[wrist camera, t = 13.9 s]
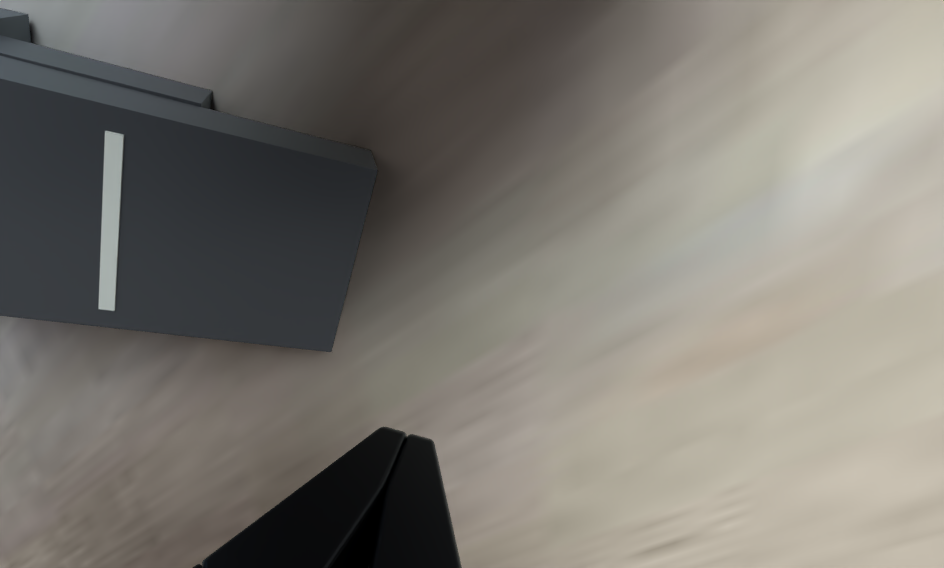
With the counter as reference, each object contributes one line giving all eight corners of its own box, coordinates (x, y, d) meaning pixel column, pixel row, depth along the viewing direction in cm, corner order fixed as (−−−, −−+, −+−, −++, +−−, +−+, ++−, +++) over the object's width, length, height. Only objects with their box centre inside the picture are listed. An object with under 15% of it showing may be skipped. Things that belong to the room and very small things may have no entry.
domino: (378, 171, 12) (-269, 14, 8) (331, 353, 14) (-203, 295, 10) (370, 149, 13) (-181, 8, 10) (329, 317, 15) (-139, 254, 12)
